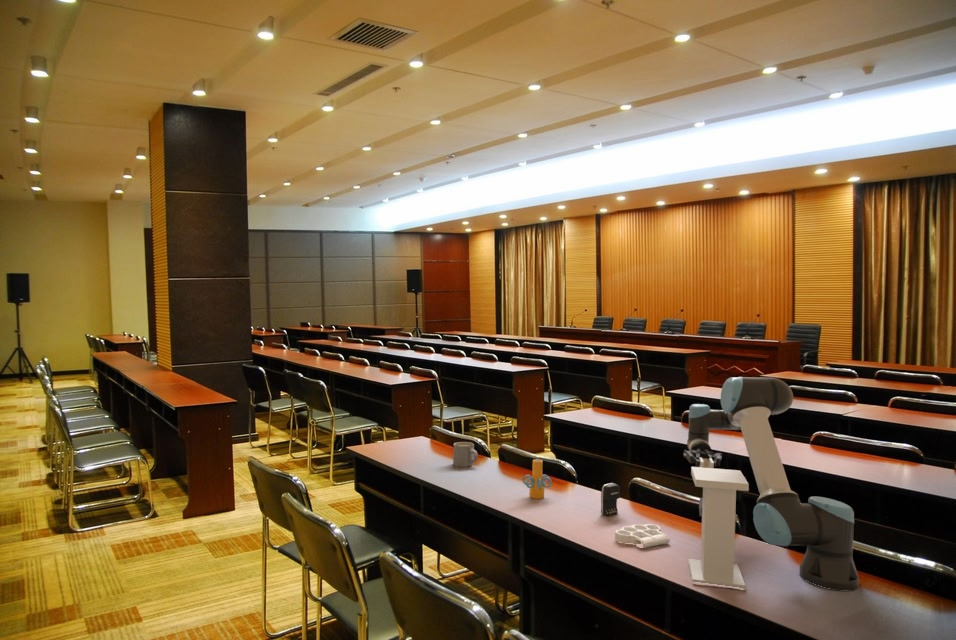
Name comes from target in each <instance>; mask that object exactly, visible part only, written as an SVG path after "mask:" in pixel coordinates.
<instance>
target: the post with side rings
mask: <svg viewBox="0 0 956 640" xmlns="http://www.w3.org/2000/svg"><path fill="white" fill-rule="evenodd" d="M526 478H527V479H526ZM525 479H526V480H525ZM529 481H530V482H529ZM544 481H545V482H544ZM548 481H549V484H548V485H547V483H548ZM522 483H523V484H524V485H525V486H526V487H527V488H529V498H531V499H534V500H541V499H544V497H545V488H550V487H551V486H552V484H553V481H552V479H551V478H550V477H549V476H548V475H547V474H543V460H542V459H533V460H532V476H531V475H530V474H526V475H524V476H523V477H522Z"/></svg>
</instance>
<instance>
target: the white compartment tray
mask: <svg viewBox="0 0 956 640" xmlns="http://www.w3.org/2000/svg"><path fill="white" fill-rule="evenodd" d="M615 540H616V541H619V542H622V543H633V544H635V545H636V544H641V543H642V544H643V549H645V548H646V549H647V548H652V547H656V546H661V545H665V543H666V544H669V543H670V542H671V541H670V538H669V536H668V535H667V534H665V533H663V532H662V531H661V527H660V526H659V525H657V524H652V523H646V524H632V525H628V526H622V528H620V529H616V530H615V531H614V541H615ZM616 541H615V542H616Z"/></svg>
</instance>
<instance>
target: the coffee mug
mask: <svg viewBox="0 0 956 640" xmlns="http://www.w3.org/2000/svg"><path fill="white" fill-rule="evenodd" d="M477 451H478V450H475V444H474V443H473V442H469V441H458V442H454V443H453V453H452V455H453V456H452V458H453V459H452V463H453V466H454V465H455V466H454V467H457V466H460V468H469V467H468V466H471V467H473V466H474V464H475V463H476V462H477V461H478V455H479V454H478V452H477ZM472 465H473V466H472Z"/></svg>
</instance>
